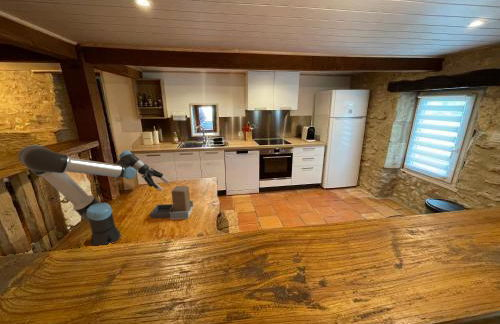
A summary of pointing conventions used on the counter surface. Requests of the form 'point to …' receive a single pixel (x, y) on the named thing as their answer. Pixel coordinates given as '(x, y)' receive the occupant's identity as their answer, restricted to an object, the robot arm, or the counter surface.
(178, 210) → the wooden block
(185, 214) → the walled bay
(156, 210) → the box
